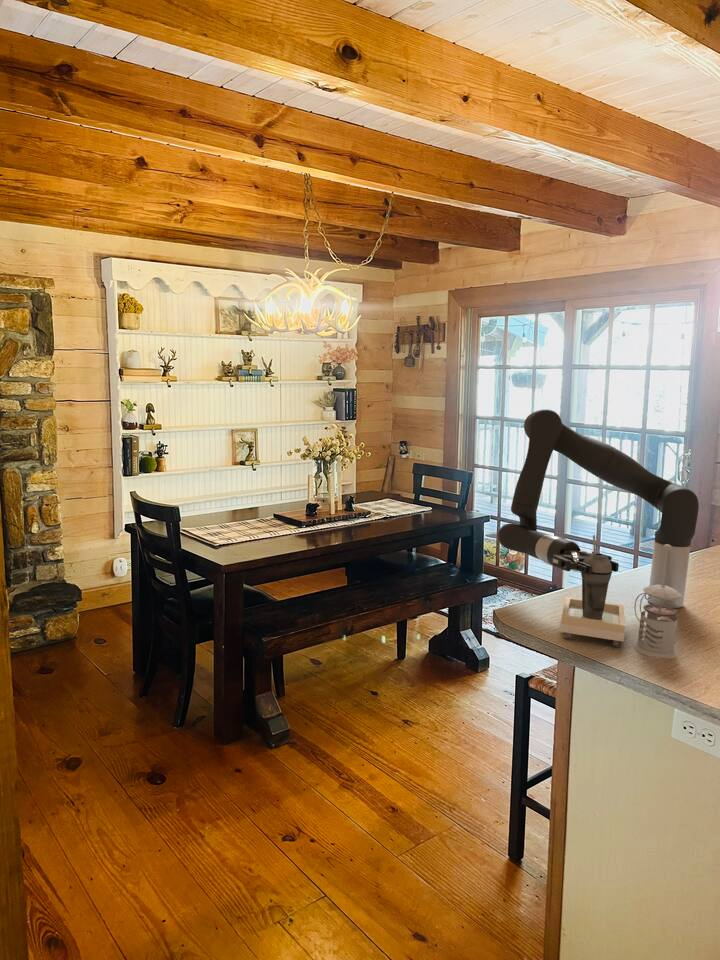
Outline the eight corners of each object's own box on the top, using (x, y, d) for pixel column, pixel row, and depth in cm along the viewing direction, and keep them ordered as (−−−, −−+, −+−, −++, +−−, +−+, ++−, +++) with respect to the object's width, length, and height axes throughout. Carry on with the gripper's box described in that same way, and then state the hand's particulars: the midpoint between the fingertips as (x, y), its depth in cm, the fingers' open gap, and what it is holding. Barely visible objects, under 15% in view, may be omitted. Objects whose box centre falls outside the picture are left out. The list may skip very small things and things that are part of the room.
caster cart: (563, 618, 181) (565, 596, 180) (621, 627, 177) (623, 605, 176) (559, 639, 166) (561, 616, 165) (622, 649, 162) (625, 625, 161)
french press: (655, 660, 157) (668, 551, 153) (617, 641, 167) (628, 538, 163) (688, 655, 161) (701, 548, 157) (648, 637, 171) (660, 536, 167)
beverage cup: (610, 623, 167) (617, 540, 164) (578, 619, 168) (585, 537, 165) (605, 613, 174) (613, 533, 171) (575, 610, 175) (581, 531, 172)
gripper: (536, 539, 178) (582, 555, 164) (580, 536, 184) (628, 551, 170) (534, 568, 179) (579, 587, 165) (577, 564, 185) (624, 581, 171)
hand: (604, 569), depth 167 cm, fingers open, 8 cm apart
